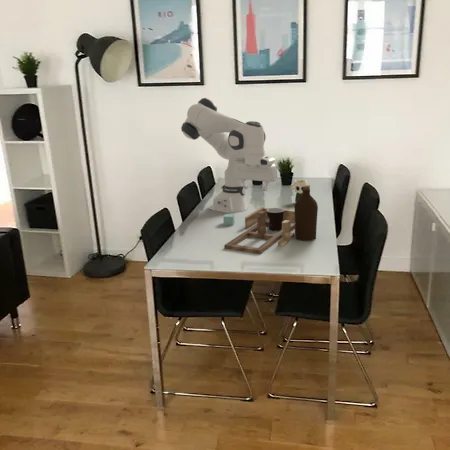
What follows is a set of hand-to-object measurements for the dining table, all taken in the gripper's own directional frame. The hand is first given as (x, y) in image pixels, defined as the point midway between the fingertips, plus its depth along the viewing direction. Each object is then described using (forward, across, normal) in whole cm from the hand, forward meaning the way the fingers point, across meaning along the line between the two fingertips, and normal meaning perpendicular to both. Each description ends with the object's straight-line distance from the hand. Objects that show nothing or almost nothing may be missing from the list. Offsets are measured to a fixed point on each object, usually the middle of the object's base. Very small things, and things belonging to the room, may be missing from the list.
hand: (255, 189), depth 230 cm
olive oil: (+25, +19, +14) cm, 35 cm away
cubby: (+25, 0, +36) cm, 44 cm away
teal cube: (+25, -25, +20) cm, 41 cm away
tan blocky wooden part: (+25, +12, +6) cm, 29 cm away
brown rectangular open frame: (+25, 0, +6) cm, 26 cm away
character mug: (+25, -6, +73) cm, 78 cm away
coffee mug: (+25, 0, +23) cm, 34 cm away
